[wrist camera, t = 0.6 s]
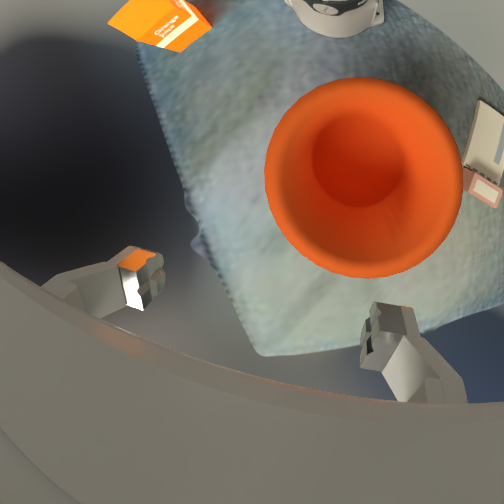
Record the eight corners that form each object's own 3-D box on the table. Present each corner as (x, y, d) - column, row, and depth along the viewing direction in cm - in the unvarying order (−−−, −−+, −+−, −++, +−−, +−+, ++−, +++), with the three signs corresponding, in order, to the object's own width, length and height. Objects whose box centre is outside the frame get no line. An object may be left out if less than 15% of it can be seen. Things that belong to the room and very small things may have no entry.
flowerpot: (263, 166, 52) (225, 192, 35) (345, 67, 39) (350, 36, 22) (359, 248, 53) (366, 309, 36) (443, 162, 40) (494, 188, 23)
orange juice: (212, 27, 40) (155, -3, 23) (179, 53, 44) (114, 36, 27) (195, 6, 38) (136, -25, 21) (163, 31, 42) (99, 12, 25)
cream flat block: (477, 100, 32) (480, 100, 31) (511, 125, 30) (515, 125, 29) (460, 163, 39) (463, 164, 38) (494, 184, 38) (498, 186, 36)
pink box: (464, 167, 39) (475, 172, 35) (491, 184, 38) (503, 190, 33) (457, 185, 41) (468, 192, 37) (485, 201, 40) (496, 209, 35)
